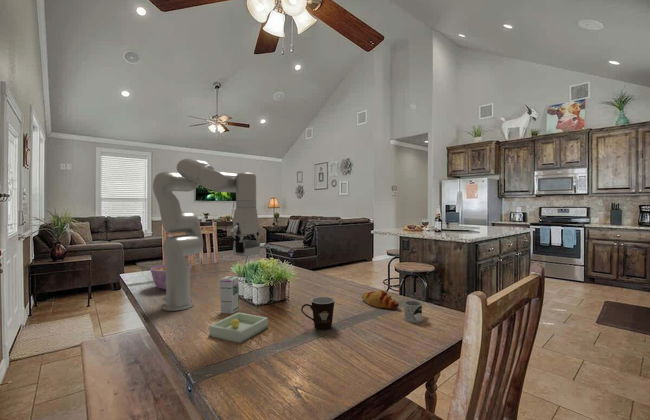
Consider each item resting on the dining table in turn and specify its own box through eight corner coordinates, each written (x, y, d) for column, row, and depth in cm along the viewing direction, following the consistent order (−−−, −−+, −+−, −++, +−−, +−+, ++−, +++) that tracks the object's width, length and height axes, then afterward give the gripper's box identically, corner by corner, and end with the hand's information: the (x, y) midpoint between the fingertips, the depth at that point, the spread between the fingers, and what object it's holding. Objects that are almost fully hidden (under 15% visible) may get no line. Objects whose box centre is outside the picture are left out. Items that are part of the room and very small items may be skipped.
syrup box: (233, 314, 132) (232, 279, 132) (220, 313, 134) (219, 278, 133) (239, 309, 138) (239, 276, 138) (226, 308, 139) (226, 275, 139)
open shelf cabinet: (233, 254, 120) (233, 241, 120) (245, 252, 127) (245, 239, 127) (247, 256, 117) (247, 242, 117) (260, 253, 124) (260, 240, 124)
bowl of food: (159, 284, 181) (159, 264, 181) (196, 283, 183) (195, 263, 183) (143, 294, 161) (143, 271, 161) (184, 293, 163) (184, 270, 163)
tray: (209, 335, 111) (209, 325, 111) (238, 321, 124) (238, 312, 124) (241, 343, 105) (241, 332, 105) (268, 327, 118) (268, 317, 118)
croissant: (358, 307, 150) (352, 294, 148) (370, 294, 156) (365, 281, 154) (395, 319, 134) (389, 304, 132) (407, 303, 140) (401, 289, 138)
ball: (239, 317, 118) (235, 321, 118) (233, 317, 115) (228, 322, 116) (242, 324, 116) (237, 329, 117) (235, 324, 114) (230, 329, 115)
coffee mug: (337, 324, 121) (337, 298, 121) (330, 332, 113) (330, 304, 113) (309, 320, 125) (308, 295, 124) (300, 328, 117) (300, 301, 116)
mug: (416, 324, 120) (416, 307, 120) (401, 320, 125) (401, 303, 125) (428, 317, 128) (428, 301, 128) (413, 313, 132) (413, 297, 132)
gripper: (252, 204, 131) (253, 247, 132) (222, 205, 116) (222, 253, 116) (267, 205, 128) (268, 248, 129) (238, 205, 112) (239, 255, 113)
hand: (246, 250), depth 122 cm, fingers closed on open shelf cabinet, 7 cm apart
